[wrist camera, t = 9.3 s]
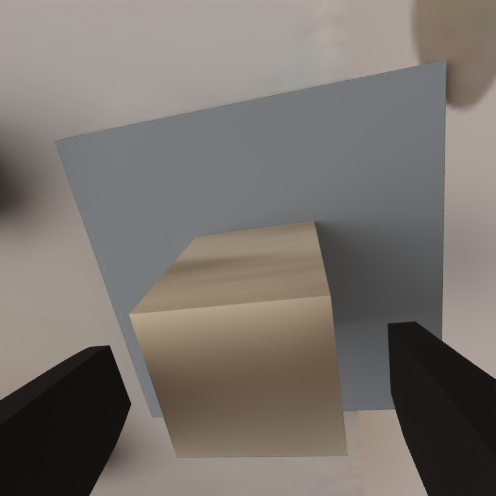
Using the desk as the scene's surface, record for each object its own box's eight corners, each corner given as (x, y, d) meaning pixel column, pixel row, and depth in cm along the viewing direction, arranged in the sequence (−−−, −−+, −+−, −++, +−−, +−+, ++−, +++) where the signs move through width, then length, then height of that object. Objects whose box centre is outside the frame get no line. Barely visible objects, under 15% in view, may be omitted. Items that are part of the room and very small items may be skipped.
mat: (434, 396, 14) (440, 407, 14) (156, 407, 17) (151, 417, 16) (437, 63, 10) (446, 59, 10) (65, 140, 12) (54, 140, 12)
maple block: (326, 326, 13) (347, 456, 8) (219, 335, 14) (176, 457, 9) (314, 220, 12) (330, 295, 7) (196, 236, 12) (129, 314, 7)
